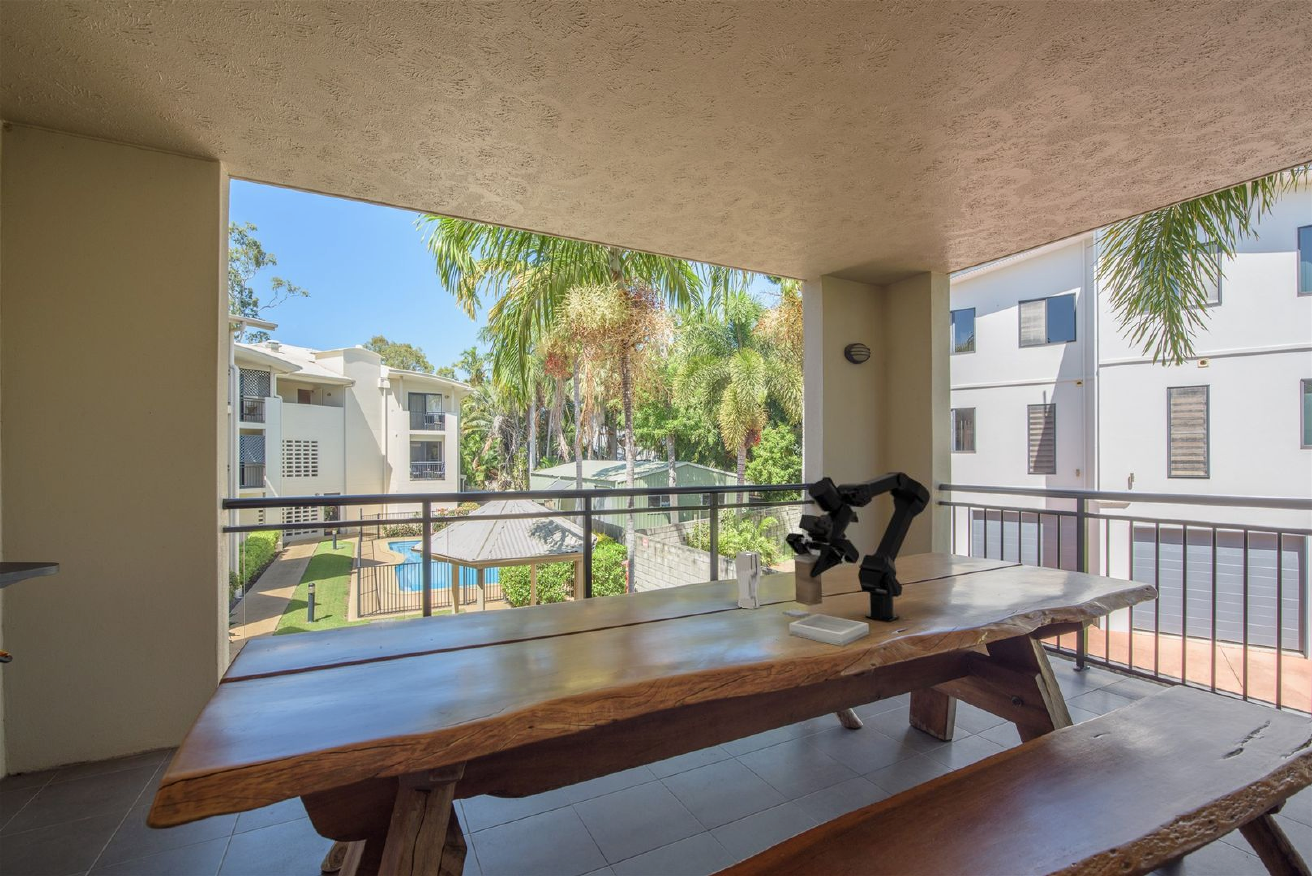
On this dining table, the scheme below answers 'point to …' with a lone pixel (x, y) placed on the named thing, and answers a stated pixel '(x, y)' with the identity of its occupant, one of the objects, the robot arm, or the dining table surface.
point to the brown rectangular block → (807, 580)
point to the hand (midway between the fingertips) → (804, 575)
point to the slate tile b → (796, 613)
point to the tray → (829, 629)
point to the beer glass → (748, 578)
